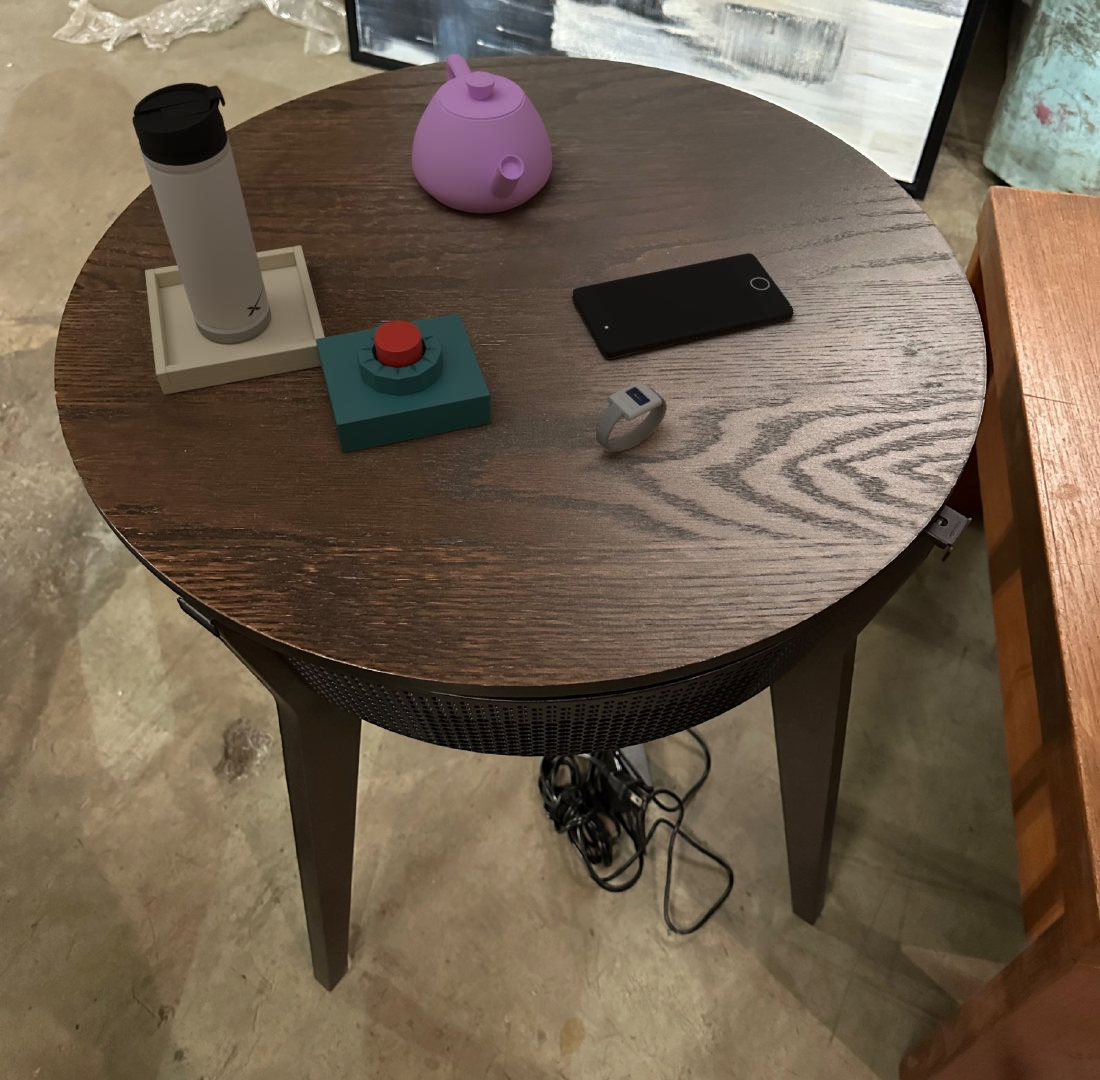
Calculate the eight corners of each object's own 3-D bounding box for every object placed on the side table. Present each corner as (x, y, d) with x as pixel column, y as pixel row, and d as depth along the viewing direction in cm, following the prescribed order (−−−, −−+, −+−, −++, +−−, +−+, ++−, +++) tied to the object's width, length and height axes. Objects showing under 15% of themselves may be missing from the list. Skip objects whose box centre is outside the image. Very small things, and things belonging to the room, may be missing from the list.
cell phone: (794, 319, 91) (796, 311, 90) (605, 361, 87) (605, 353, 86) (750, 259, 96) (752, 251, 95) (570, 296, 92) (570, 288, 91)
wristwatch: (609, 470, 80) (613, 425, 76) (587, 448, 81) (591, 403, 77) (669, 437, 82) (677, 391, 78) (647, 416, 84) (654, 371, 80)
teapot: (446, 256, 95) (439, 152, 87) (393, 141, 107) (382, 39, 98) (585, 230, 99) (591, 127, 90) (519, 121, 110) (519, 20, 101)
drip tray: (163, 395, 84) (155, 374, 82) (152, 290, 91) (144, 269, 90) (330, 364, 86) (326, 343, 84) (305, 265, 94) (301, 244, 92)
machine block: (342, 453, 80) (333, 407, 76) (321, 367, 86) (312, 321, 82) (491, 423, 83) (489, 377, 79) (460, 342, 88) (458, 296, 84)
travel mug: (282, 334, 87) (230, 112, 71) (204, 352, 86) (133, 130, 70) (266, 289, 91) (214, 69, 75) (191, 306, 89) (120, 84, 73)
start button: (381, 372, 79) (379, 355, 78) (372, 341, 81) (370, 324, 80) (427, 363, 80) (425, 346, 79) (417, 333, 82) (415, 316, 81)
